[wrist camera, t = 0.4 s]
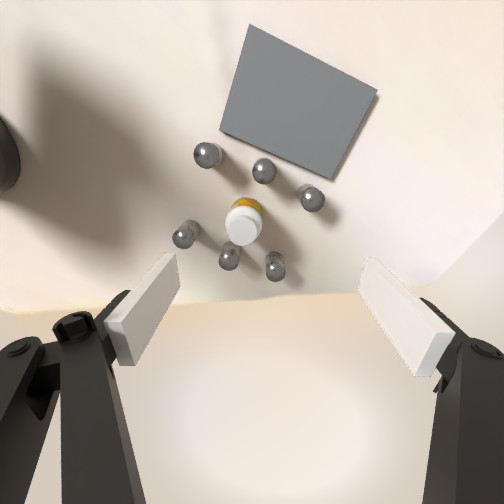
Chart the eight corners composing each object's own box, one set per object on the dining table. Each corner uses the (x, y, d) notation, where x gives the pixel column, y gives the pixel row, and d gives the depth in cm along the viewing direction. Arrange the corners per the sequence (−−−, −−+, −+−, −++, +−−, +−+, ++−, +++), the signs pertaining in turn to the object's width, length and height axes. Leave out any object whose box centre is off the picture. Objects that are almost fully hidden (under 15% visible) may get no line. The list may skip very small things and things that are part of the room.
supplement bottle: (269, 211, 37) (271, 232, 28) (247, 233, 39) (243, 258, 30) (245, 189, 36) (240, 203, 27) (224, 212, 38) (213, 232, 29)
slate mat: (220, 130, 32) (218, 129, 31) (249, 27, 27) (249, 23, 26) (328, 178, 35) (330, 179, 34) (374, 91, 30) (377, 89, 29)
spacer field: (179, 238, 40) (169, 250, 35) (207, 132, 32) (199, 130, 28) (276, 273, 42) (277, 288, 38) (323, 182, 35) (332, 188, 30)
